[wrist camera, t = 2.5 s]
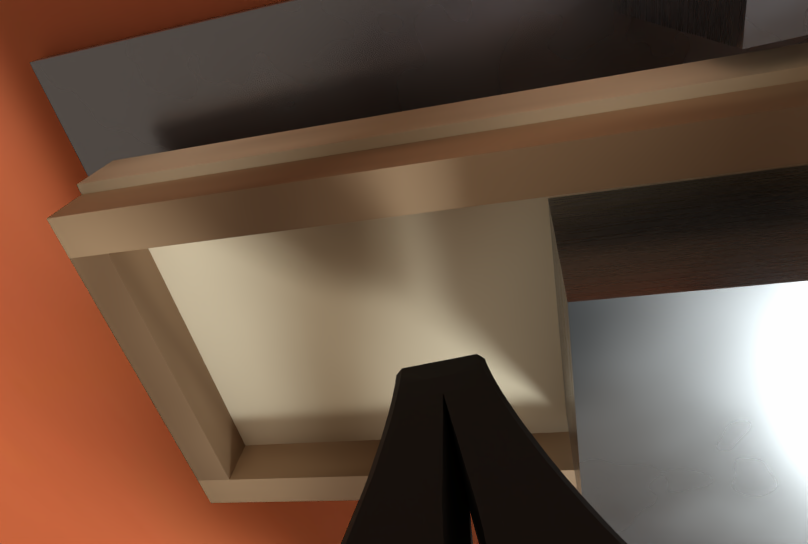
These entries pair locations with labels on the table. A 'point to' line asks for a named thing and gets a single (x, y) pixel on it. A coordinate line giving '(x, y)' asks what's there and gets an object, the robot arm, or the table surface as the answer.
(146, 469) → the table surface
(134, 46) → the beam stand
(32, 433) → the table surface
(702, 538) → the block
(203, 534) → the table surface
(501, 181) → the beam
